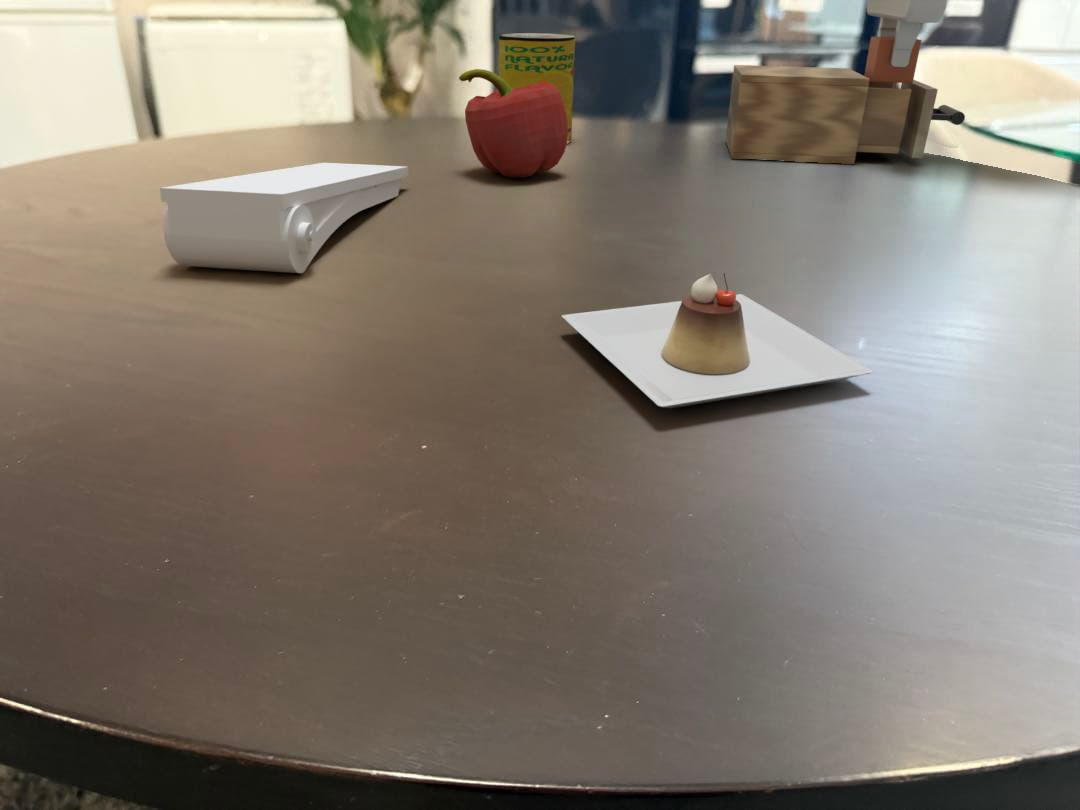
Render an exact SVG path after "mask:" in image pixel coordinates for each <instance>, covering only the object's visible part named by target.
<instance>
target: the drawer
mask: <svg viewBox="0 0 1080 810" xmlns="http://www.w3.org/2000/svg"><path fill="white" fill-rule="evenodd" d="M900 84H901V85H900V88H898V87H895V88H894V87H893V86H894V82H872V81H869V86H868V92H867V97H866V103H865V108H864V113H863V119H862V124H861V130H860V135H859V140H858V146H857V151H856V153H875V154H876V153H878V154H899V153H900V151H901V152H903V153H904V154H906V155H907V156H908V157H910V158H911V159H923V158H924V154H925V149H926V144H927V140H928V135H929V132H930V126H931V122H932V121H944V122H945V121H947V122H949V123H951V124H953V125H955V126H959V125H961V124H963V123H964V121H965V119H966V116H965V113H964V112H962V111H960V110H957V109H956V108H953V107H951V106H949V105H947V104H941V105H939V107H935V104H936V100H937V95H938V91H939V90H938V88H935V87H934V86H931V85H928V84H925V83H923V82H921V81H918V80H915V79H913V83H900Z"/></svg>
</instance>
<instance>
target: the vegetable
mask: <svg viewBox="0 0 1080 810" xmlns="http://www.w3.org/2000/svg"><path fill="white" fill-rule="evenodd" d="M475 78H477V79H478V78H479V79H483V80H486V81H487V82H489V83H490V84H492V85H493V86H494V87H495V88H496V90H494V91H493V92H491V93H490V94H488V95H486V96H483V95H482V96H481V95H475V96H474V97H472V98H471V99H469V100H468V101H467V105H466V107H465V109H464V116H465V119H464V120H465V124H466V128H467V132H468V137H469V139H470V143H471V146H472V150H473V152H474V154H475V156H476V158H477V160H478V161H479V163H480V164H481V165H482V166H483V168H485V169H487V170H489V171H491V172H493V173H500V174H501V175H502V176H504V177H508V178H526V177H530V176H532V175H534V174H535V173H537V172H541V171H542V172H543V171H550V170H551V169H553V168H554V167H556V165H558V164H559V162H560V161H561V159H562V158H563V156H564V154H565V152H566V148H567V145H568V144H567V136H568V122H567V116H566V111H565V106H564V102H563V99H562V96H561V94H560V92H559V91H558V89H557V88H556V87H555V86H554V85H552V84H550V83H548V82H546V81H542V82H539V83H536V84H531V85H528V86H525V87H516V88H514V89H512V88H511V87H510V86H509V85H508V84H507V83H506V82H505V81H504V80H503V79H502V78H501V77H500V76H499V74H497V73H495V72H492V71H490V70H487V69H479V68H475V69H470V70H467V71H464V72H462V73H461V74H460V75H459V77H458V79H459V80H460V82H466V81H468V83H471V82H472V80H473V79H475ZM566 144H567V145H566Z"/></svg>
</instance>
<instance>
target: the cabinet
mask: <svg viewBox="0 0 1080 810" xmlns="http://www.w3.org/2000/svg"><path fill="white" fill-rule="evenodd" d="M869 81H870V79H869V78H867V77H865V76H864V75H863V74H861V73H859V72H857V71H854V70H853V69H851V68H847V67H846V68H843V67H839V68H838V67H816V66H815V67H814V66H812V67H811V66H785V65H784V66H782V65H753V64H752V65H750V64H734V65H733V72H732V80H731V89H730V97H729V107H728V115H727V123H726V124H727V125H726V131H725V132H726V133H725V141H726V142H725V141H724V142H725V144H726V143H727V145H726V147H727V146H728V147H727V150H728V149H729V150H728V153H729V152H730V153H729V155H730V156H729V157H730V159H731V158H732V159H731V160H736V159H766V160H784V161H795V162H794V163H805V162H818V163H817V164H827V163H838V164H837V165H850V164H854V165H855V163H856V162H855V161H856V156H857V152H856V151H857V146H858V140H859V135H860V130H861V124H862V119H863V113H864V108H865V103H866V97H867V92H868V86H869ZM839 163H841V164H839Z"/></svg>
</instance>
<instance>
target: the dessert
mask: <svg viewBox="0 0 1080 810" xmlns="http://www.w3.org/2000/svg"><path fill="white" fill-rule="evenodd" d="M723 277H724V278H723V279H724V283H725V286H726V289H719V290H718V285H717V283H716V282H715V279H713V275H712V274H711V273H710V274H707V275H705V276H702V277H700V278H698V279H697V280H696V281H695V282H693V283H692V286H691V289H690V295H687V296H685V297H684V298H683V299H682V300H680V301H679V300H677V301H670V302H662V303H653V304H652V303H651V304H645V305H636V306H627V307H619V308H610V309H601V310H595V311H587V312H584V311H583V312H576V313H569V314H562V315H561V317H562V319H563V320H565V322H567V323H568V324H569V325H570V326H571V327H572V328H573V329H574V330H575V331H576V332H577V333H579V334H580V335H581V337H583V338H584V339H585V340H586V341H587V342H588V343H589V344H590V345H592V346H593V347H594V349H596V350H597V351H598V352H599V353H600V354H601V355H602V356H603V357H604V358H605V359H607V360H608V362H610V363H611V364H612V365H613V366H614V367H615V368H616V369H617V370H618V371H620V373H621V374H623V375H624V376H625V377H626V378H627V379H628V380H629V381H630V382H631V383H633V384H634V385H635V387H637V388H638V389H639V390H640V391H641V392H642V393H643V394H644V395H645V396H647V398H649V399H650V400H651V401H652V402H653V403H654V404H655V405H656V406H657V407H660V408H663V409H664V408H665V409H679V408H686V407H690V406H691V407H692V406H696V405H697V406H699V405H703V404H709V403H716V402H723V401H728V400H735V399H740V398H745V397H746V398H747V397H751V396H758V395H764V394H765V395H766V394H771V393H776V392H782V391H788V390H793V389H794V390H796V389H800V388H806V387H812V386H818V385H824V384H830V383H834V382H840V381H843V380H844V381H845V380H847V379H853V378H858V377H863V376H866V375H870V374H872V373H874V370H872V368H869V367H868V366H866V365H864V364H863V363H861V362H859V361H857V360H855V359H854V358H852V357H851V356H848V355H847V354H845V353H843V352H842V351H840V350H838V349H837V348H836V347H833V346H831V345H830V344H828V343H826V342H825V341H823V340H822V339H820V338H818V337H816V336H815V335H813V334H811V333H809V332H808V331H806V330H804V329H802V328H801V327H799V326H798V325H795V324H794V323H792V322H790V321H789V320H787V319H785V318H784V317H782V316H780V315H779V314H777V313H775V312H773V311H772V310H770V309H768V308H767V307H765V306H763V305H761V304H760V303H759V302H756V301H755V300H753V299H751V298H750V297H748V296H747V295H744V294H743V293H738V294H736V292H735V291H733V290H729V287H728V282H727V278H726V273H725V272H723Z"/></svg>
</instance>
